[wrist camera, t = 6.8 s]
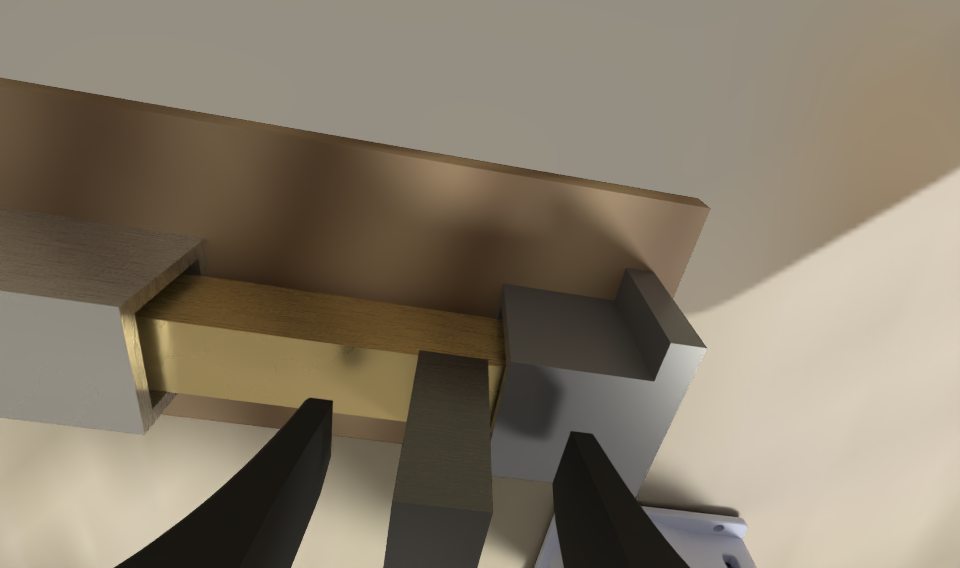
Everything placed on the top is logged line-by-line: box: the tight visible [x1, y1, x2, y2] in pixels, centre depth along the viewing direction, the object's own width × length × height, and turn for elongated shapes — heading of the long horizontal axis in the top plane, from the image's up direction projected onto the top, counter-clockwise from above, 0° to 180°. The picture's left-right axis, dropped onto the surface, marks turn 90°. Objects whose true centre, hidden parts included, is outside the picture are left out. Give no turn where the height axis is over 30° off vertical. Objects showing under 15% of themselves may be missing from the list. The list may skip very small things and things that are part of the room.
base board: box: [0, 78, 710, 444], centre depth 18 cm, size 26×12×1 cm, turn 80°
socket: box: [490, 268, 707, 497], centre depth 16 cm, size 5×7×4 cm
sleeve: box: [0, 207, 209, 435], centre depth 15 cm, size 9×4×4 cm, turn 80°
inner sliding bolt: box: [134, 273, 506, 568], centre depth 13 cm, size 16×3×8 cm, turn 80°
